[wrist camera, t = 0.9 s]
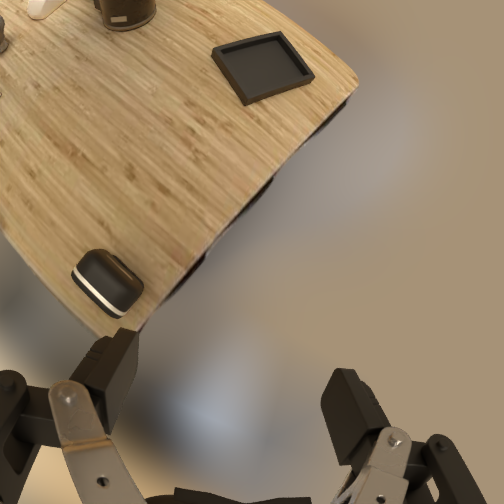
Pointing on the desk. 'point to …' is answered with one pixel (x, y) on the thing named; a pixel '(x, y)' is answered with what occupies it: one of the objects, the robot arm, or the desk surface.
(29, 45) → the desk surface
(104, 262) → the battery charger
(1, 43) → the light bulb
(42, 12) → the computer mouse
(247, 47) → the dock pad
